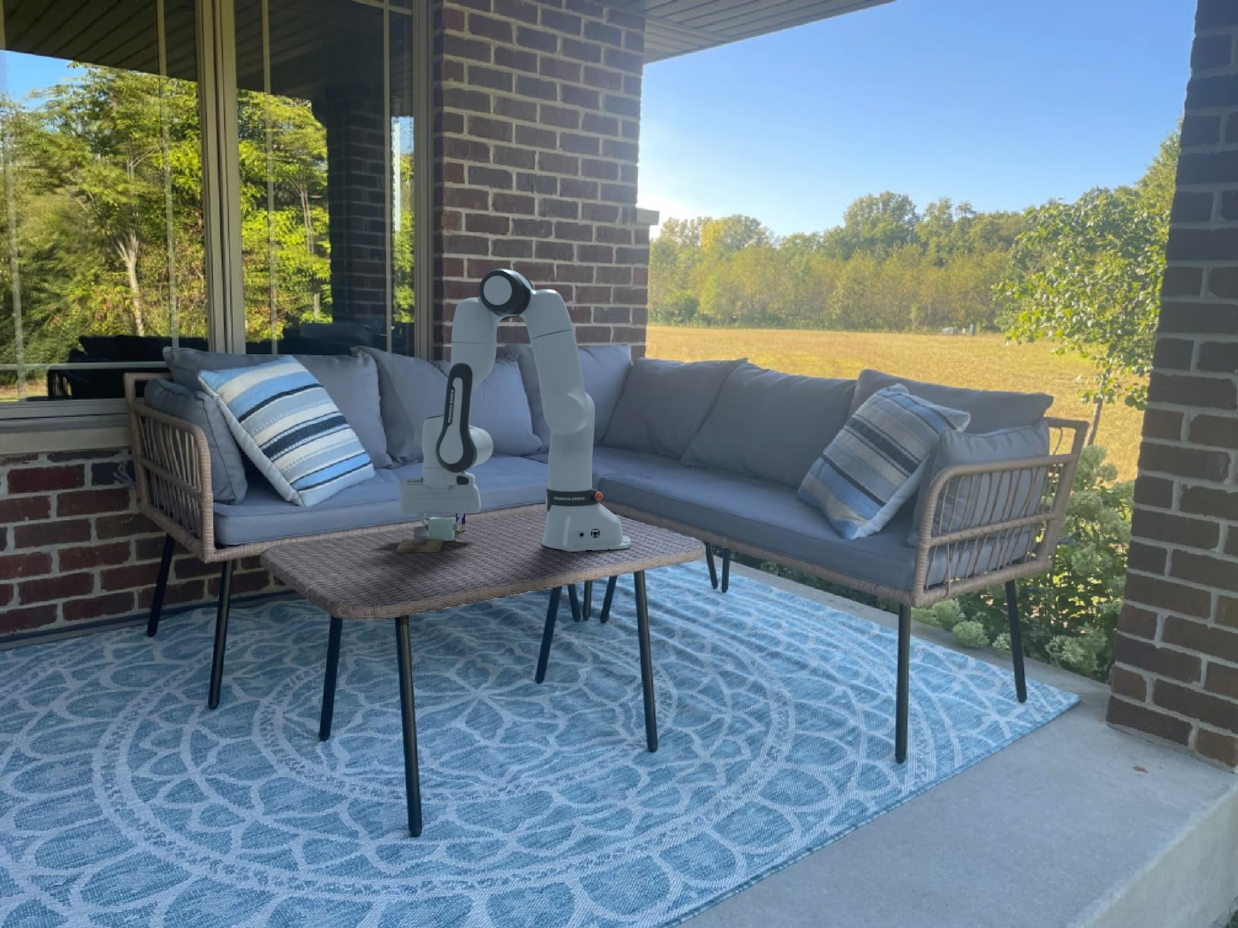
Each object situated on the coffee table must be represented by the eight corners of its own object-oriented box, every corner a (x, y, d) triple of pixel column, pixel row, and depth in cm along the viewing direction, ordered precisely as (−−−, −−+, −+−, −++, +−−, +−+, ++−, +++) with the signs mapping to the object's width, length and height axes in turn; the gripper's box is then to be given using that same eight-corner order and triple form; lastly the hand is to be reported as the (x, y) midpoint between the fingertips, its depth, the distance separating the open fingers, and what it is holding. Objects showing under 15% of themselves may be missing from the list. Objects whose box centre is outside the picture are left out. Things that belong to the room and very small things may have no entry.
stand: (443, 543, 226) (442, 523, 225) (438, 551, 216) (438, 531, 215) (402, 543, 225) (402, 524, 224) (396, 552, 215) (396, 532, 215)
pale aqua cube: (454, 535, 234) (454, 517, 233) (452, 540, 228) (451, 521, 227) (431, 536, 234) (430, 517, 233) (428, 541, 228) (428, 521, 227)
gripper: (397, 479, 225) (398, 533, 226) (479, 478, 227) (480, 532, 228) (400, 475, 231) (402, 528, 233) (480, 475, 233) (481, 527, 235)
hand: (441, 530), depth 231 cm, fingers closed on pale aqua cube, 6 cm apart
